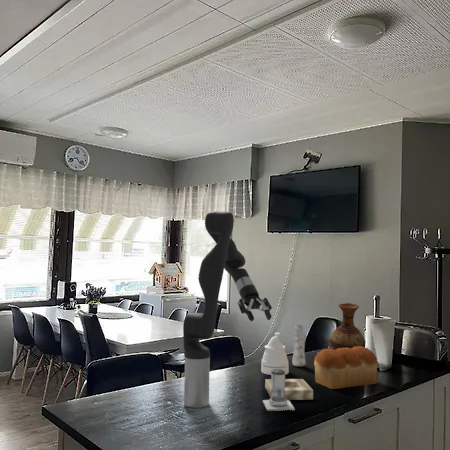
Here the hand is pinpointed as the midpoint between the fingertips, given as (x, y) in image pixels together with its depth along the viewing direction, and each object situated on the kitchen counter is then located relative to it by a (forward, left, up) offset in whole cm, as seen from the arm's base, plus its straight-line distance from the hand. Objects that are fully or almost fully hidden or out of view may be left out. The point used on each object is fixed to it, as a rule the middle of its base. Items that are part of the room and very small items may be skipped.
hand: (261, 319), depth 190 cm
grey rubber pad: (+3, -20, -29) cm, 35 cm away
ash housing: (+10, -5, -29) cm, 31 cm away
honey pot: (+11, +29, -29) cm, 43 cm away
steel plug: (+3, -20, -28) cm, 34 cm away
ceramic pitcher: (+55, +54, -29) cm, 83 cm away
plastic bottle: (+25, +39, -29) cm, 55 cm away
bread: (+39, +10, -29) cm, 50 cm away
